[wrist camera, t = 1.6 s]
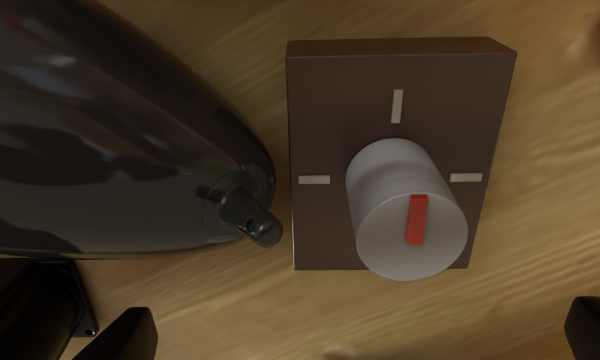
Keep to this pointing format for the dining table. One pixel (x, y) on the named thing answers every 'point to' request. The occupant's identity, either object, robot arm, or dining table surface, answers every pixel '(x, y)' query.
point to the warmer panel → (387, 126)
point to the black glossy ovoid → (119, 144)
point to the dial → (403, 211)
